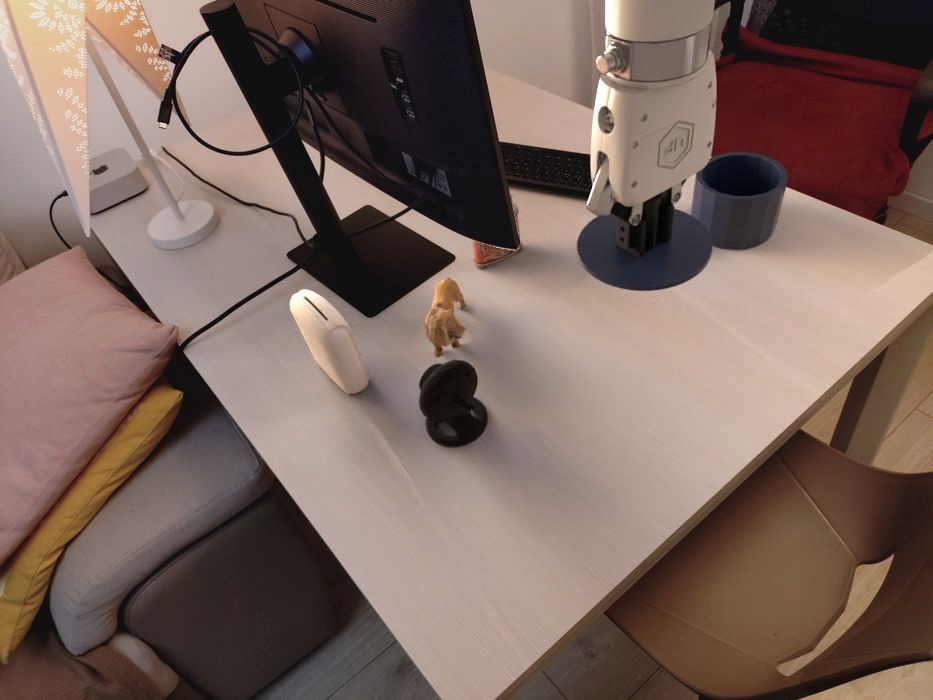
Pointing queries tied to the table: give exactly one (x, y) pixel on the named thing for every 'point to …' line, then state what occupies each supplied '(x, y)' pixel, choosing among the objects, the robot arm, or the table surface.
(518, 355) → the table surface
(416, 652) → the table surface
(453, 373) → the webcam
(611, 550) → the table surface
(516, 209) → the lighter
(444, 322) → the lion figurine
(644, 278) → the lid
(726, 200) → the tin
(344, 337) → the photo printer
